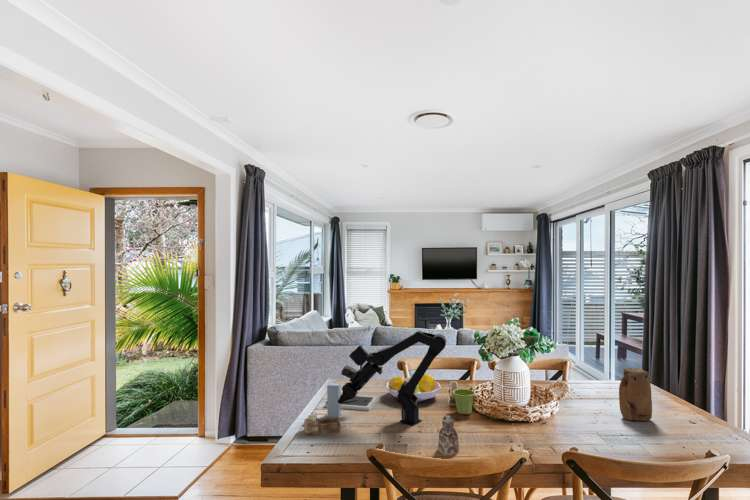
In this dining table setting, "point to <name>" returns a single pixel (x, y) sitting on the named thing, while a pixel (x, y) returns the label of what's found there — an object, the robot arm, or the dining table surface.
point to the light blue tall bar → (333, 400)
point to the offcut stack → (311, 424)
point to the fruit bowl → (423, 390)
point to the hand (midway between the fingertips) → (341, 399)
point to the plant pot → (464, 400)
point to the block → (635, 395)
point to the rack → (326, 426)
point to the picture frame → (359, 403)
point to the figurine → (448, 437)
